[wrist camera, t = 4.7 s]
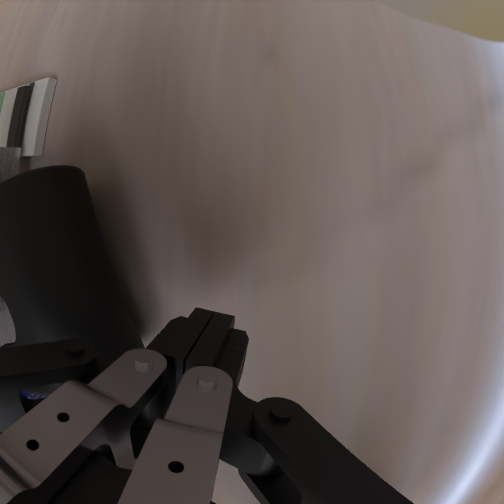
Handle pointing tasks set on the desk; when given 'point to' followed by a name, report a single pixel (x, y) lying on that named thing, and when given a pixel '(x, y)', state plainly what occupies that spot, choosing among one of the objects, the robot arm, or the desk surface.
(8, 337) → the gauge plunger
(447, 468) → the desk surface
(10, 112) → the gauge scale
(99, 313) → the end cap
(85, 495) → the robot arm
